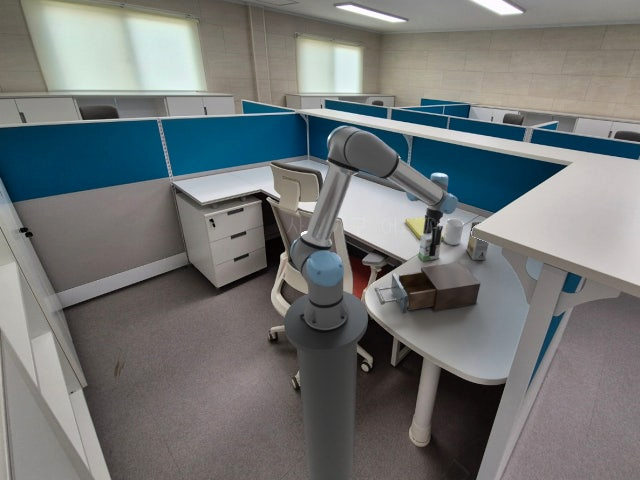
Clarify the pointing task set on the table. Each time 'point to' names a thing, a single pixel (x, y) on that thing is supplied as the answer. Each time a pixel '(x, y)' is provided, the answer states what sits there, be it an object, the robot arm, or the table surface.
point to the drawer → (410, 291)
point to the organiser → (452, 285)
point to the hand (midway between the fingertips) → (429, 252)
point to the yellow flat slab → (417, 226)
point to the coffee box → (476, 246)
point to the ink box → (427, 247)
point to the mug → (453, 231)
